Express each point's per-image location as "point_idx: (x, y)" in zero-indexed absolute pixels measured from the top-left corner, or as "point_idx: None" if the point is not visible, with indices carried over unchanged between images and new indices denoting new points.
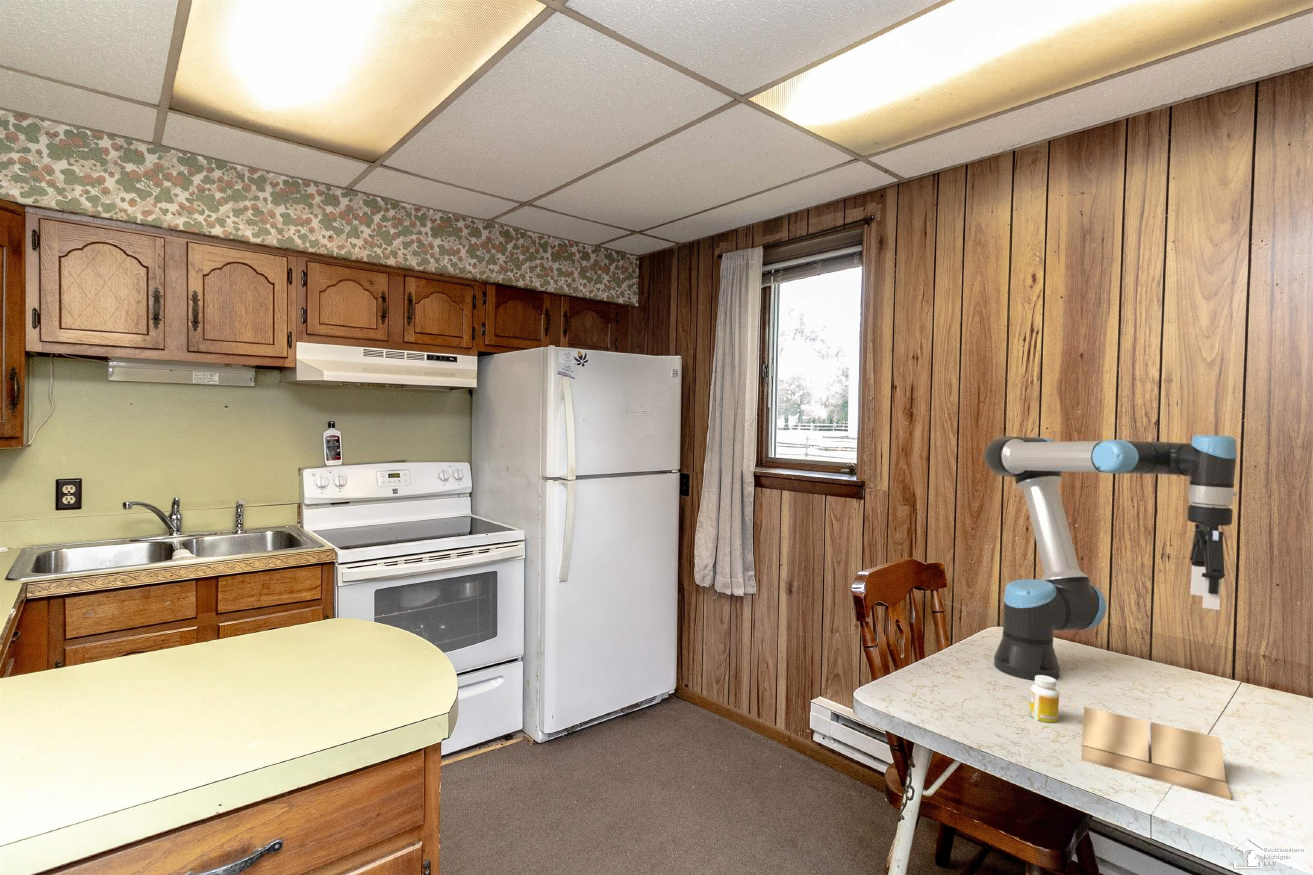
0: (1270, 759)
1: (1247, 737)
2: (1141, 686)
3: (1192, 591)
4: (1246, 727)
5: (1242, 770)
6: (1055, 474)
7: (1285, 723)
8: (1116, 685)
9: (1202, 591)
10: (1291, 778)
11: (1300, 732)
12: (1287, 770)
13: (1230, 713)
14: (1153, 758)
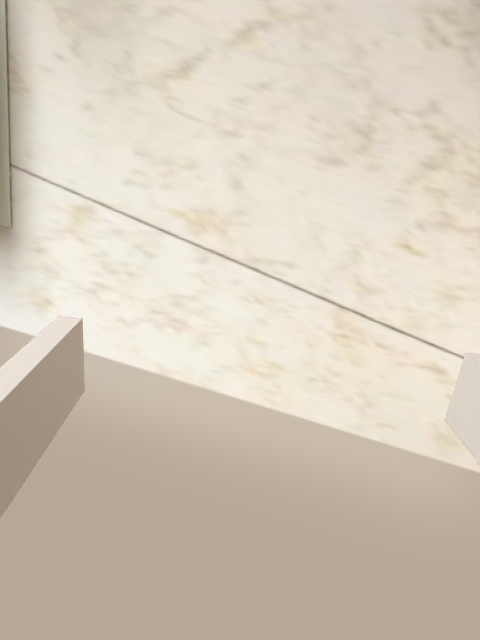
0: (116, 319)
1: (217, 315)
2: (472, 171)
3: (474, 370)
4: (279, 331)
5: (18, 251)
6: None
7: (343, 407)
8: (454, 100)
9: (463, 421)
10: (40, 324)
11: (303, 416)
12: None
13: (355, 326)
14: None
